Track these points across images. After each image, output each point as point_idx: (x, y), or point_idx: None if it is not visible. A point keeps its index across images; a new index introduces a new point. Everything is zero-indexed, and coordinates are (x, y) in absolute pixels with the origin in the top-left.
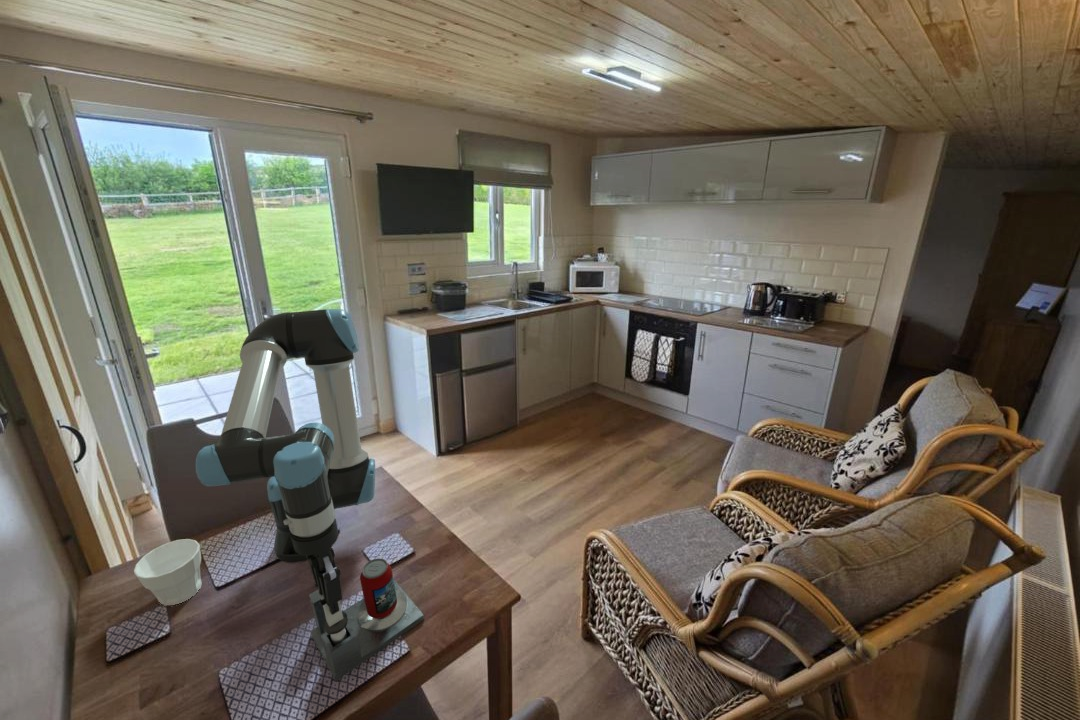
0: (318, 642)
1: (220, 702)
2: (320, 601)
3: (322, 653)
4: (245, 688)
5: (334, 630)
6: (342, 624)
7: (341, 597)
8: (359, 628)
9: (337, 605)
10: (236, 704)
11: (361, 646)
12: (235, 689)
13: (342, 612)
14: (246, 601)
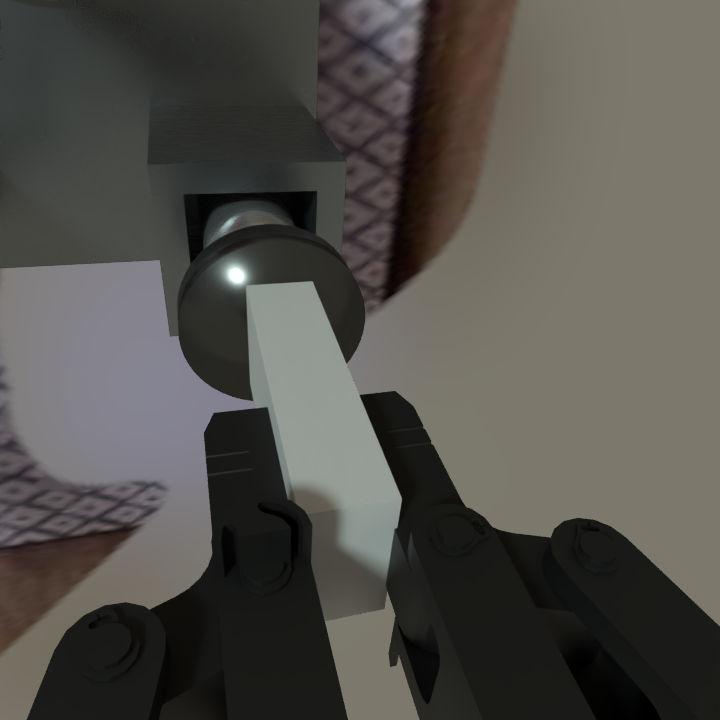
0: (43, 256)
1: (86, 544)
2: (394, 659)
3: (138, 259)
4: (79, 491)
5: (353, 351)
6: (354, 298)
7: (654, 571)
8: (92, 17)
9: (436, 457)
10: (131, 510)
11: (244, 74)
12: (60, 514)
13: (232, 262)
14: None
